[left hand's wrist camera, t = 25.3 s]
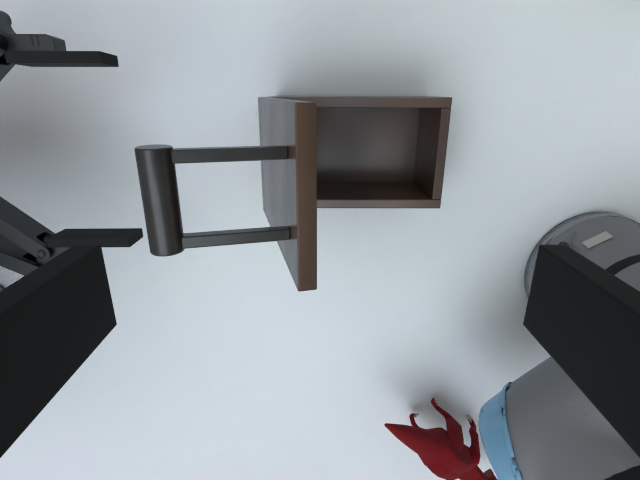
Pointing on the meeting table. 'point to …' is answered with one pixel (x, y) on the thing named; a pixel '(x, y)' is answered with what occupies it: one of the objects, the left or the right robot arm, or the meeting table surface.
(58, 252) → the right robot arm
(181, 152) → the lid
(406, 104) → the chest
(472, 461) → the toy
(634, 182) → the meeting table surface
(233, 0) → the meeting table surface
